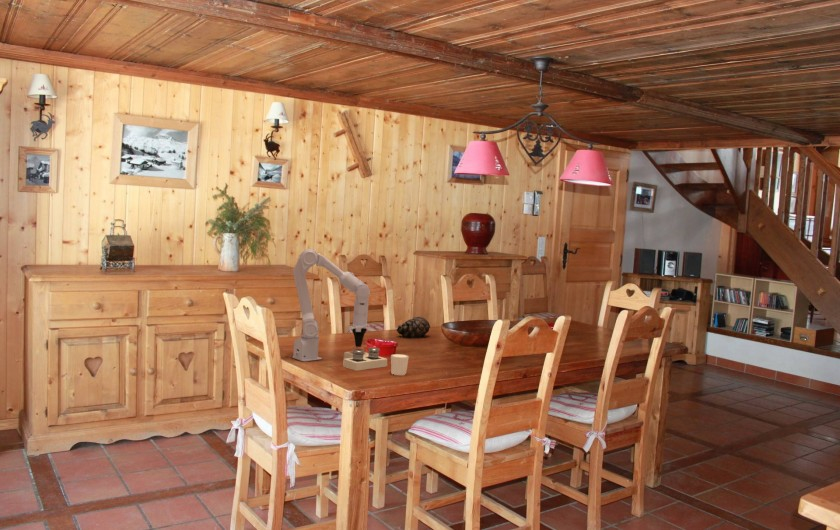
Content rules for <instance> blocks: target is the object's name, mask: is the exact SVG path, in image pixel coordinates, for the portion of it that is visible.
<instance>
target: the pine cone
mask: <svg viewBox="0 0 840 530" xmlns="http://www.w3.org/2000/svg"><path fill="white" fill-rule="evenodd" d="M430 329H431V324H430V322H429V321H428V320H427V319H426V318H425V317H422V316H416V317H412V318H410V319H408V320H406V321H405V322H404V323H401V324H399V325H398V326H397V329H396V333H398V335H400V336H399V338H400V339H401V338H402V339H413V340H414V339H422V338H426V337H427V335H426V334H427V333H429V331H430Z"/></svg>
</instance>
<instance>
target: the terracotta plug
mask: <svg viewBox="0 0 840 530" xmlns="http://www.w3.org/2000/svg"><path fill="white" fill-rule="evenodd" d="M353 349H361V350H364V349H365V346H364V345H361V347H356V345H355V344H353V345H352V350H353Z"/></svg>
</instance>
